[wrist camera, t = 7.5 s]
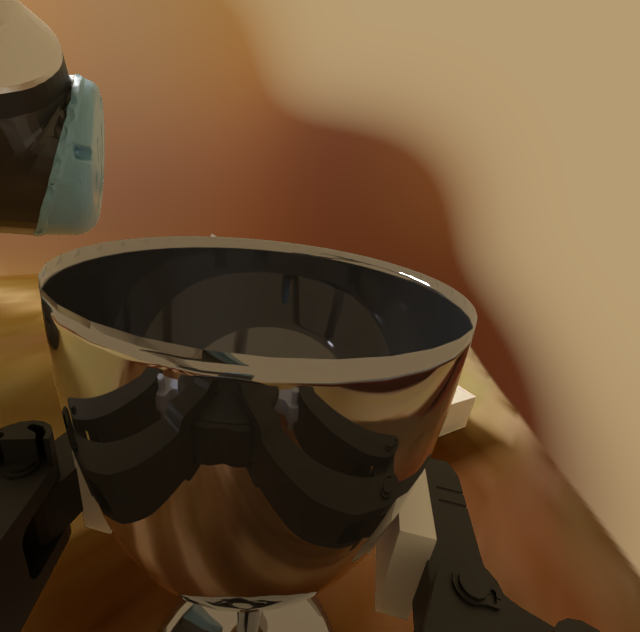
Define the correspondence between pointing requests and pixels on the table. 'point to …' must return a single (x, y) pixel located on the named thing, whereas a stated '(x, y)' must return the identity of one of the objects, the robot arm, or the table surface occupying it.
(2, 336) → the table surface
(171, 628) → the silver metal goblet
